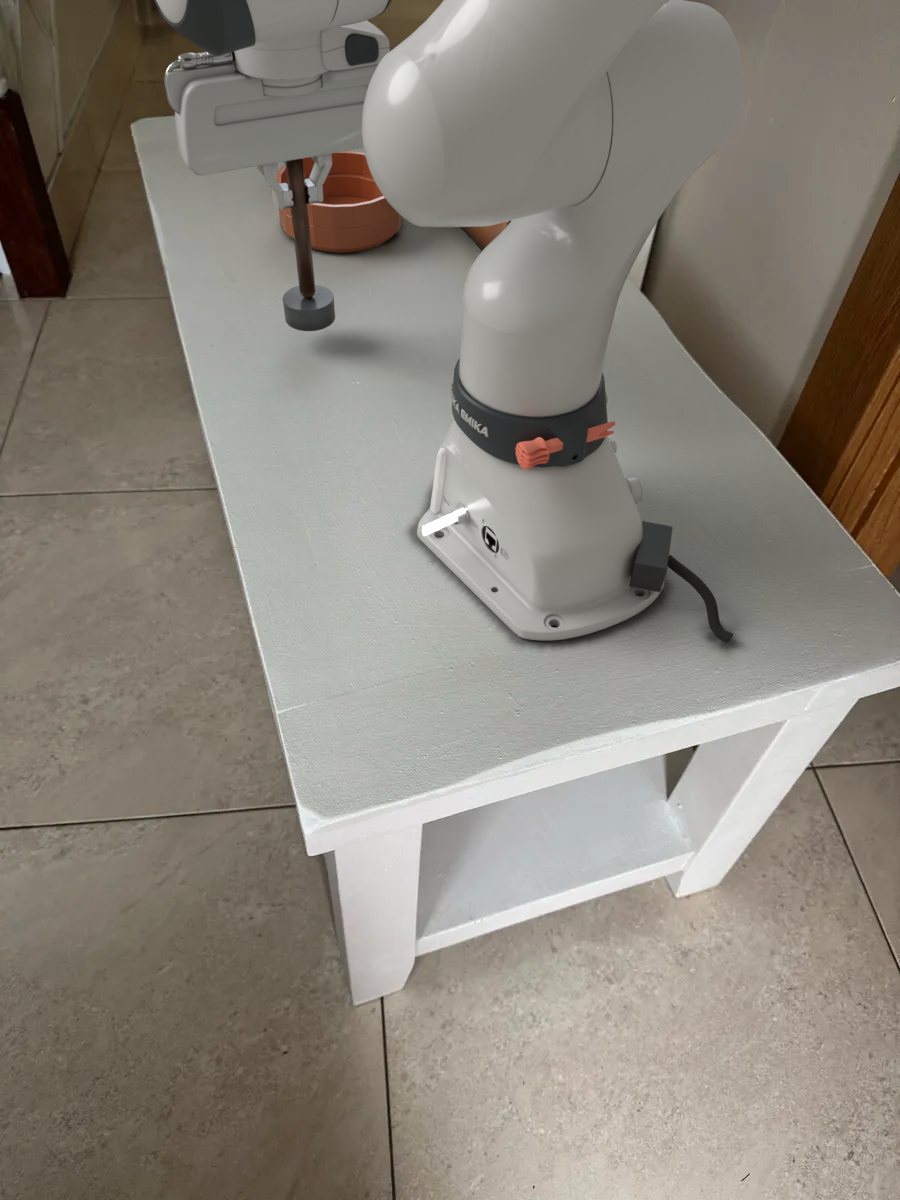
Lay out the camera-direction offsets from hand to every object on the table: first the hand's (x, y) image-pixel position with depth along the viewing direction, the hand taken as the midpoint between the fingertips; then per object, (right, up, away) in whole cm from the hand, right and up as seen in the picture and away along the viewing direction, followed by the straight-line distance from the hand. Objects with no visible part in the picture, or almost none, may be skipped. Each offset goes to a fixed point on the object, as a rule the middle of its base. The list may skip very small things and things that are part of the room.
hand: (298, 203), depth 89 cm
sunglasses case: (+20, +8, +28) cm, 35 cm away
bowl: (+1, +9, +29) cm, 30 cm away
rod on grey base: (0, -8, +9) cm, 12 cm away
